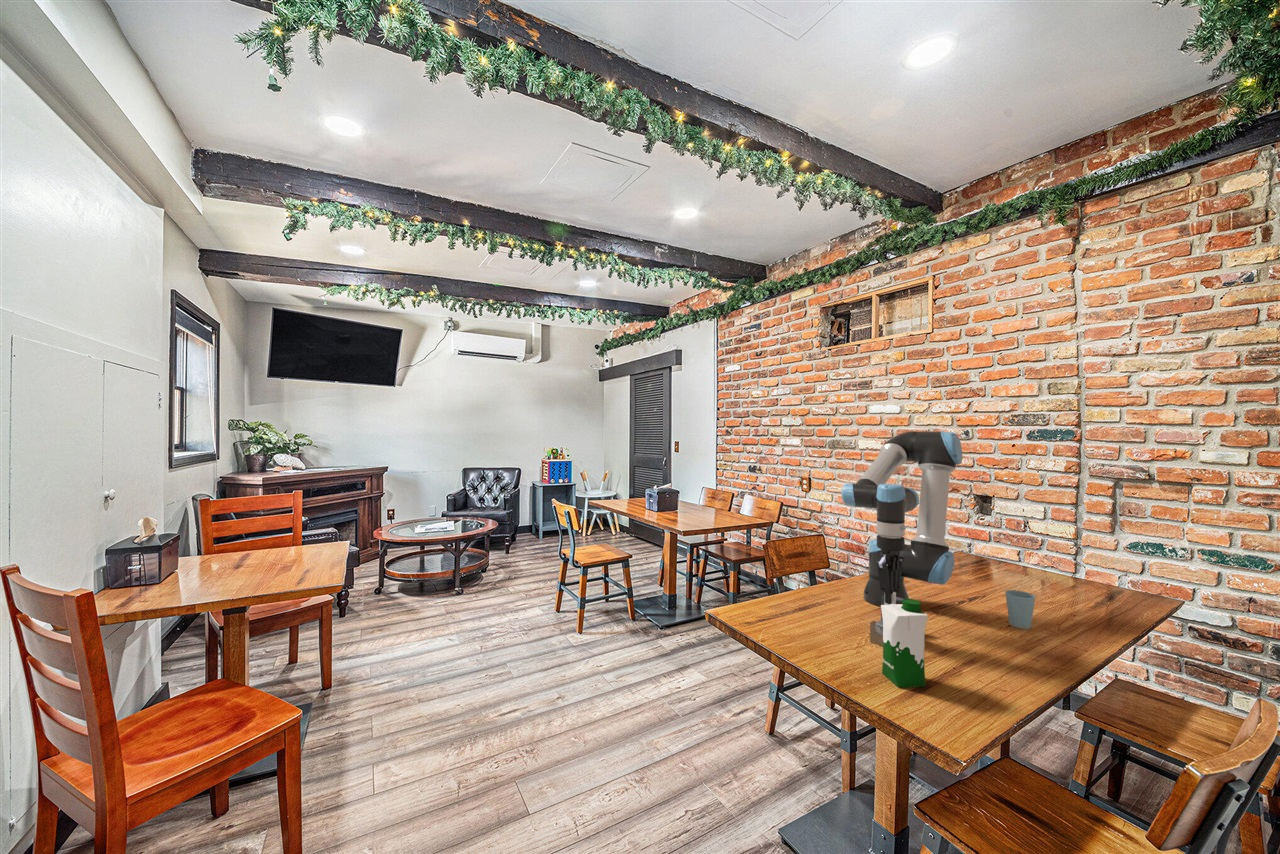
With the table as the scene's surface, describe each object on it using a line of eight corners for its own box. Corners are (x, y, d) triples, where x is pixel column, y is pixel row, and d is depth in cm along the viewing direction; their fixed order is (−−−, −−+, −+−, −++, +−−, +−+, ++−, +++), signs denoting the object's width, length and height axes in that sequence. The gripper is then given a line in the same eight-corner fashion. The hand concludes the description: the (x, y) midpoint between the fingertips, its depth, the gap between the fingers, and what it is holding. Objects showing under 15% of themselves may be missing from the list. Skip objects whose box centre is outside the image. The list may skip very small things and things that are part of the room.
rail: (897, 652, 137) (897, 629, 137) (863, 640, 145) (863, 617, 145) (925, 636, 148) (925, 614, 148) (892, 625, 156) (892, 605, 156)
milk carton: (931, 688, 118) (932, 607, 118) (896, 690, 117) (897, 608, 117) (908, 670, 127) (909, 595, 127) (876, 671, 126) (876, 595, 126)
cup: (1040, 628, 155) (1040, 596, 155) (1026, 632, 152) (1026, 599, 152) (1014, 619, 162) (1014, 588, 162) (1000, 623, 159) (1000, 591, 159)
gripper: (892, 541, 138) (892, 622, 138) (913, 535, 146) (913, 612, 146) (867, 536, 144) (866, 614, 144) (888, 530, 152) (887, 605, 152)
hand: (890, 613), depth 145 cm, fingers closed
